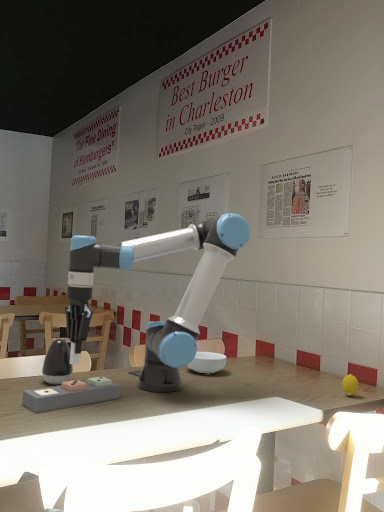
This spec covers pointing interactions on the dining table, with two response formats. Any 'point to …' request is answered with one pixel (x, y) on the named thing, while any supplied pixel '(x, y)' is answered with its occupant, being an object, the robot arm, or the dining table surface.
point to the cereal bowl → (207, 362)
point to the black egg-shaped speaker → (57, 363)
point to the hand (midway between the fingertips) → (74, 363)
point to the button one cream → (46, 392)
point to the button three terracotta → (74, 385)
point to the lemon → (350, 384)
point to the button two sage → (99, 382)
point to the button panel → (69, 397)
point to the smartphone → (135, 373)
